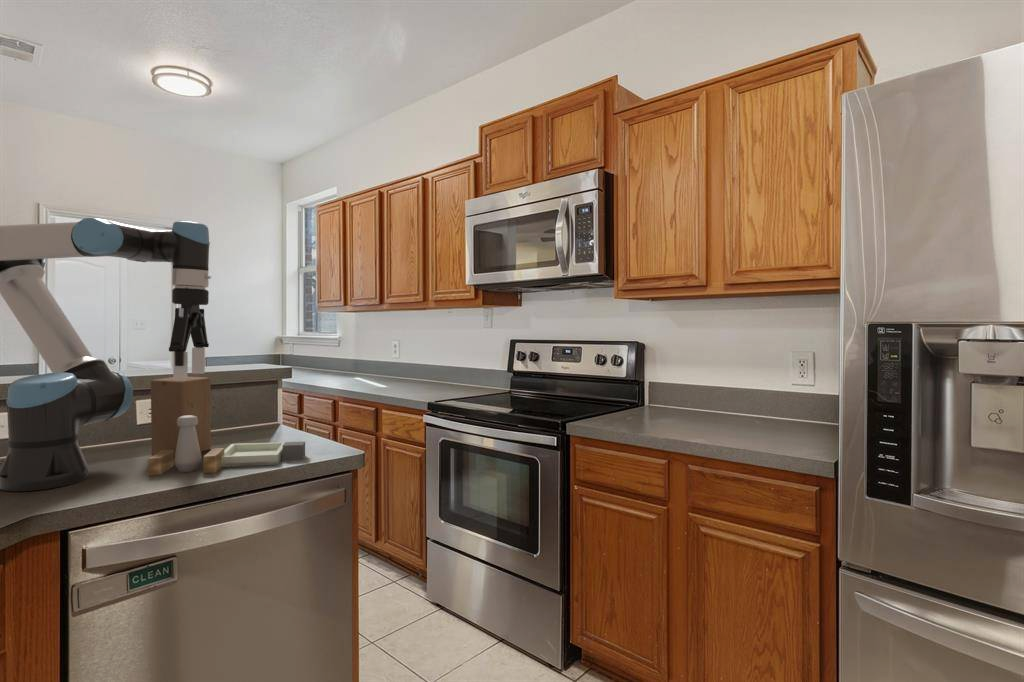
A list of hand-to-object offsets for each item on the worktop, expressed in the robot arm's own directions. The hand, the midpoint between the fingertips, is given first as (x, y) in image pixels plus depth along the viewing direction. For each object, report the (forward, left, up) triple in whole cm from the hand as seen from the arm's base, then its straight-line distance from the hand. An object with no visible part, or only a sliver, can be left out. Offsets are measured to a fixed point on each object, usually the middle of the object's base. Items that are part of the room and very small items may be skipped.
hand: (189, 376), depth 133 cm
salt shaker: (0, -1, -23) cm, 23 cm away
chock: (+23, +6, -23) cm, 33 cm away
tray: (+13, +7, -22) cm, 27 cm away
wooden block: (-7, +17, -23) cm, 30 cm away
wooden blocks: (0, -1, -22) cm, 22 cm away
